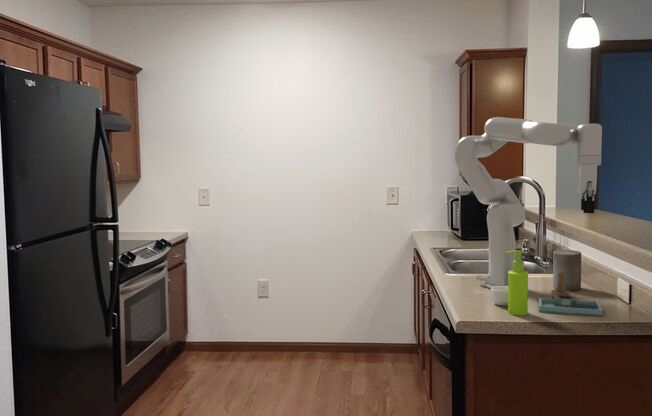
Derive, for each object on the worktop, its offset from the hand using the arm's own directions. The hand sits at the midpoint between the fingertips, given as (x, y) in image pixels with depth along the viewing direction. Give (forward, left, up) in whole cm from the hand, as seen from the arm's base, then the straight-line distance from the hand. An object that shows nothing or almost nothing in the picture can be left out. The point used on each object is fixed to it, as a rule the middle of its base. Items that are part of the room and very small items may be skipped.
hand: (587, 211), depth 191 cm
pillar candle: (-5, +16, -31) cm, 35 cm away
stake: (-8, -6, -30) cm, 32 cm away
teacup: (-27, -13, -31) cm, 43 cm away
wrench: (-4, -15, -30) cm, 34 cm away
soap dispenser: (-22, -24, -31) cm, 45 cm away
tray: (-6, -15, -30) cm, 34 cm away
